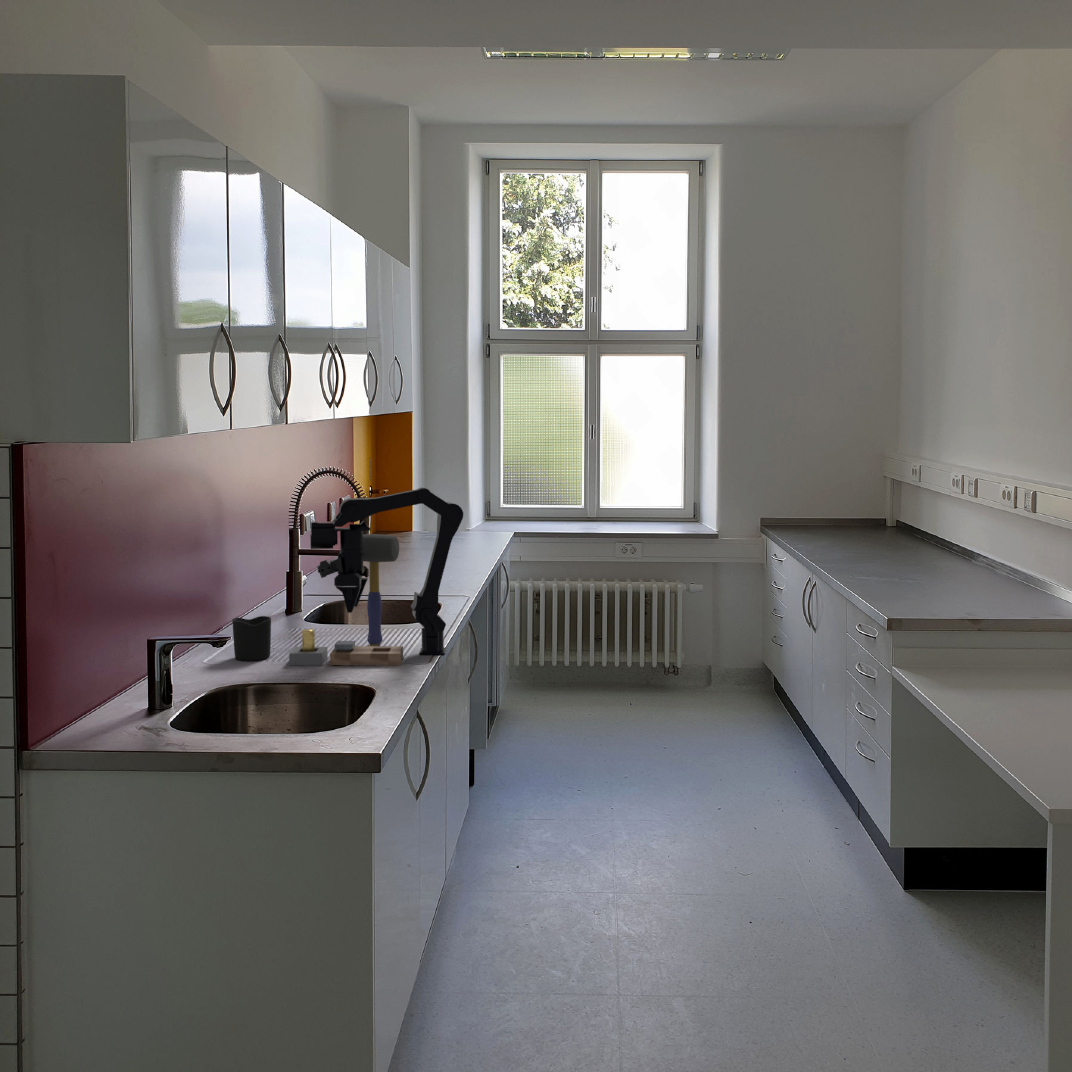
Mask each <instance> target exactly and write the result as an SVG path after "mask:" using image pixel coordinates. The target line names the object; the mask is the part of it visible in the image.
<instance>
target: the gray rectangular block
mask: <svg viewBox="0 0 1072 1072" xmlns="http://www.w3.org/2000/svg"><path fill="white" fill-rule="evenodd" d="M355 646H356V641H355V640H336V642H335V643H334V648H335V649H338V651H352V649H353V648H354V647H355Z"/></svg>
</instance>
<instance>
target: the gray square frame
mask: <svg viewBox="0 0 1072 1072" xmlns="http://www.w3.org/2000/svg"><path fill="white" fill-rule="evenodd" d="M328 651H329V650H328V646H315V652H303V647H302V646H295V647H294V648H293V649H292V650H291V651H290V652H289V653H288V660H289V661H288V662H289V663H288V664H289V665H303V666H323V665H324V664H325V663H326V661H328V659H329V658H328V655H329V654H328ZM324 662H325V663H324ZM323 663H324V664H323Z"/></svg>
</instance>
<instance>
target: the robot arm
mask: <svg viewBox="0 0 1072 1072" xmlns="http://www.w3.org/2000/svg"><path fill="white" fill-rule="evenodd" d="M421 504H423V506H426V507H427V508H428V509H430V510H432V511H433V512H435V513H436V514H437V519H436V536H435V540H434V545H433V549H432V553H431V557H430V561H429V564H428V569H427V571H426V576H425V580H424V583H423V587H422V589H421V590H420V592H417V591H414V593H413V600H412V603H411V605H410V608H411V609H412V615H413V617H414V618H415V620H416V622H417V623H419V624H420V625H421V647H420V650H419V652H418V654H419V655H445V654H446V651H447V648H446V647H445V645H444V644H445V643H444V642H445V640H444V638H445V633H444V631H445V629H446V626H447V624H446V622H445V621H444V619H443V618H442V617H441V616H440V615H439V614H438V612H439V591H440V586H441V583H442V578H443V575H444V572H445V568H446V564H447V560H448V556H449V552H450V548H451V544H452V541H453V540H454V539H453V538H454V537H455V535H456V534H457V532H458V530H459V527H460V526H461V523H462V521H463V518H464V511H463V508H462V507H461V506H460V505H459V504H457V503H454V502H452V501H445V500H443V499H442V498H440V497H439V496H437V495H436V494H434V493H433V492H431V491H430V489H428V488H426V487H419V488H416V489H411V490H407V491H402V492H397V493H393V494H388V495H383V496H378V497H355V498H354V497H350V498H346V499H344V500H342V502H341V503H340V504H339V508H338V510H339V512H338V513H337V515H336V516H335V517H334V518H333V520H332V521H331V522H320V521H319V522H318V521H312V522H310V534H309V537H310V538H309V540H310V541H309V544H310V550H333V549H334V546H337V545H339V553H338V554H337V558H335V559H332V560H331V559H330V560H328V559H324V560H321V561H320V562H319V565H318V566H316V567H317V573H319V576H320V578H321V579H323V578H326V577H327V576H330V575H332V574H335V573H337V575H336V576H335V577H334V578H333V579H334V582H333V583H334V584H333V585H334V587H335V588H336V590H338V591H340V592H341V593H342V597H343V600H344V604H345V608H346V611H347V613H349V614H351V613H353V611H354V608H355V607H356V608H357V607H358V605H359V603H360V599H361V598H362V594H363V592H364V589H365V587H366V584H367V582H368V580H369V579H368V578H369V577H370V568H368V567H367V566H366V565H364V561H363V556H364V551H363V534H364V532H365V531H368V532H369V531H371V527H370V526H369V525H367V523H366V521H365V520H364V519H367V518H370V517H371V516H374V515H376V514H378V513H382V512H387V511H392V510H397V509H401V508H407V507H411V506H416V505H417V506H418V505H421ZM361 520H362V521H361ZM360 521H361V523H356V522H360ZM347 524H348V527H344V526H345V525H347ZM338 532H339V536H338ZM338 537H339V538H338ZM338 539H339V541H338ZM338 542H339V543H340V544H338Z"/></svg>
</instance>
